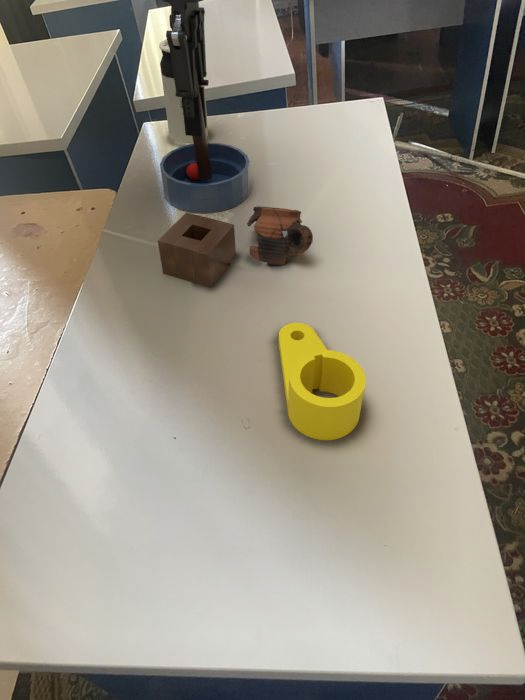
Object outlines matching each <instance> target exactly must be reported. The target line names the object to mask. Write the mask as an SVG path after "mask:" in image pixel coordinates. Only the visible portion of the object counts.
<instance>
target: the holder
mask: <svg viewBox="0 0 525 700" xmlns="http://www.w3.org/2000/svg"><path fill="white" fill-rule="evenodd" d="M235 231H236V230H235V224H234V223H229V222H227V221H226V222H225V221H222V220H218V219H214V218H211V217H208V216H207V217H206V216H202V215H198V214H196V213H192V212H188V211H185V213H184V214H182V215H181V217H180V218H178V219H177V221H176V222H174V224H173V225H172V226H171V227H169V229H168V230H167V231H166V232H164V233H163V235H161V236H160V238H159V239H158V240H157V245H158V251H159V256H160V257H159V258H160V263H161V269H162V270H161V271H162V274H163V275H166V276H169V277H173V278H176V279H178V280H179V279H180V280H183V281H186V282H190V283H193V284H195V285H200V286H203V287H207V288H210V289H211V288H212V287H214V285H215V284H216V282H217V281H219V279H220V278H221V277H222V275H223V274H224V273H225V271H226V270H227V268H229V266H230V265H231V264H232V263H230V261H231V260H232V259H233V258H234V257H235V255H236V253H237V252H236V236H235V235H236V234H235Z"/></svg>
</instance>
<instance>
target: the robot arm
mask: <svg viewBox="0 0 525 700" xmlns="http://www.w3.org/2000/svg"><path fill="white" fill-rule="evenodd" d="M161 1H162V2H165V3H168V4H169V5H170V14H169V19H168V20H169V28H170V29H171V30H166V33H165V38H166V39H167V42H168V45H169V48H170V55H171V62H172V68H173V75H174V81H175V88H176V93H175V95H176V96H177V97H182V106H183V115H184V124H185V134H186V135H188V136H202V135H203V134H202V122H201V111H200V99H199V95H198V94H197V87H196V71H197V77H198V84H199V90H200V97H201V104H202V110H203V117H204V123H205V128H206V127H207V124H208V122H207V123H206V111H207V109H206V110H205V99H206V96H205V97H204V87H202V86H205V87H208V86H209V82H210V81H209V79H205V78H207V75H208V74H207V60H206V59H207V56H206V35H205V14H206V10H205V7H201V6H200V5H199V2H203V1H204V0H161Z"/></svg>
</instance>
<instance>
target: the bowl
mask: <svg viewBox="0 0 525 700" xmlns="http://www.w3.org/2000/svg"><path fill="white" fill-rule="evenodd" d="M207 143H208V150H209V157H210V163H211V170H212V178H211V179H209V180H200V179H199V180H191V179H190V178H189V177H188V176H187V173H186V170H187V167H188V166H189V165H190V164H192V163H197V162H196V156H195V151H194V145H193V143H189V144H185V145H181V146H178V147H177V148H174V149H172V150H171V151H169V152H168V153H166V155H164V156H163V157H162V159H161V160H160V163H159V169H160V175H161V183H162V189H163V195H164V199H165V201H167V203H169V205H170V206H172V207H174V208H176V209H177V210H180V211H184V212H187V213H191V214H214V213H220V212H221V213H222V212H224V211H227V210H230V209H233V208H235V207H237V206H239V205H241V204H243V202H245V200H246V199H247V198H248V197H249V195H250V192H251V191H250V190H251V163H250V162H251V161H250V159H249V157H248V154H246V153H245V152H244V151H243V150H242V149H240V148H238V147H235V146H233V145H230V144H225V143H221V142H211V141H209V142H208V141H207Z"/></svg>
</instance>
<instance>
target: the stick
mask: <svg viewBox="0 0 525 700" xmlns="http://www.w3.org/2000/svg"><path fill="white" fill-rule="evenodd" d="M196 87H197V94H198V95H199V99H200V111H201V122H202V134H203V135H202V136H192V139H193V143H192V144H193V145H194V151H195V156H196V162H197V168H198V174H199V179H200V180H209V179H211V178H212V170H211V163H210V157H209V150H208V143H207V142H208V136H207V137H206V130H205V123H204V117H203V110H202V104H201V97H200V90H199V84H198V77H197V71H196Z"/></svg>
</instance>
